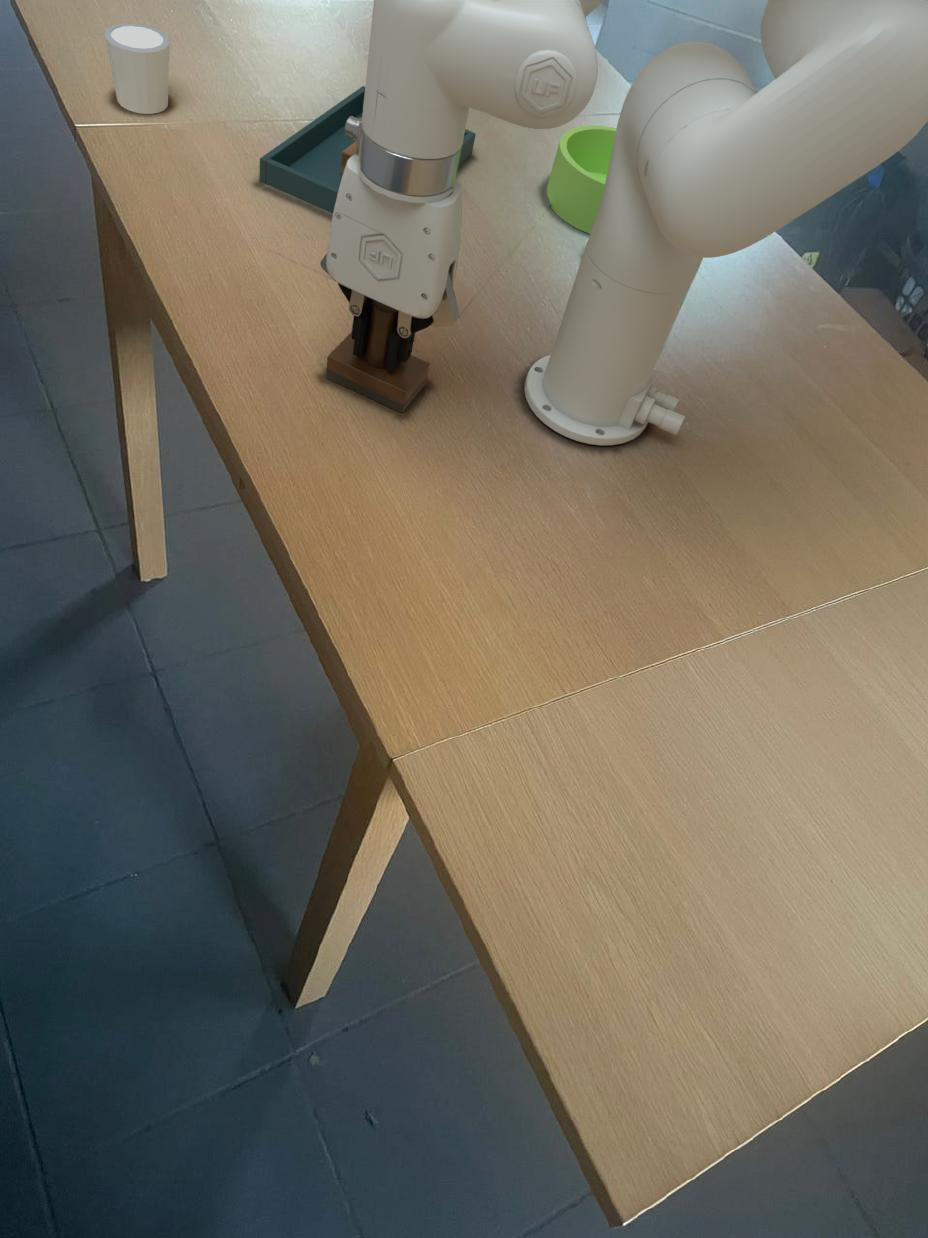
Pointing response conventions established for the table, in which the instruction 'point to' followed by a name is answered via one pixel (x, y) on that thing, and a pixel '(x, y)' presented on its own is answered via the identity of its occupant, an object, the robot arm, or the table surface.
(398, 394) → the stamp
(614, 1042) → the table surface
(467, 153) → the tray
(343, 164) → the wooden block
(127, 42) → the white cup
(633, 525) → the table surface
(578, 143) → the food container
